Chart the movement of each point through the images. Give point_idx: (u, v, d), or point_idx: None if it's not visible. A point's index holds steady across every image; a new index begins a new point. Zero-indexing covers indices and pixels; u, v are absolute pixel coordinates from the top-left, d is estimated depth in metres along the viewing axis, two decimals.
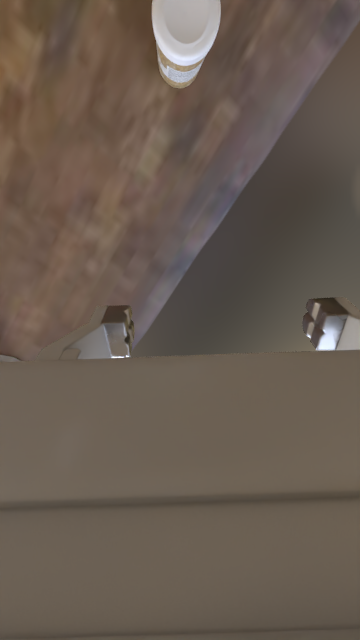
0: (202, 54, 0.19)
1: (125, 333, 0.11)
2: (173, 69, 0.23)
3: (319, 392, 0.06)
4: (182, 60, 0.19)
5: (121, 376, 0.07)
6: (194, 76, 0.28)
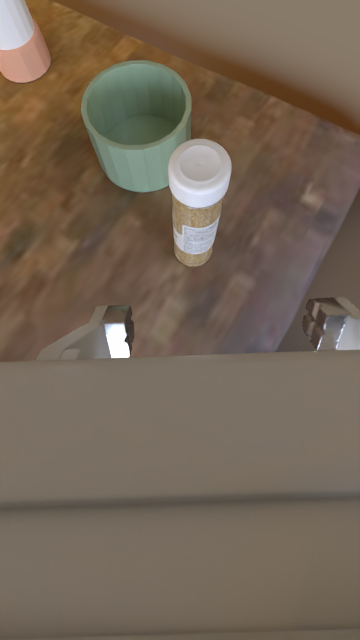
0: (217, 190, 0.19)
1: (125, 333, 0.11)
2: (188, 227, 0.24)
3: (319, 393, 0.06)
4: (197, 194, 0.19)
5: (121, 376, 0.07)
6: (208, 254, 0.31)
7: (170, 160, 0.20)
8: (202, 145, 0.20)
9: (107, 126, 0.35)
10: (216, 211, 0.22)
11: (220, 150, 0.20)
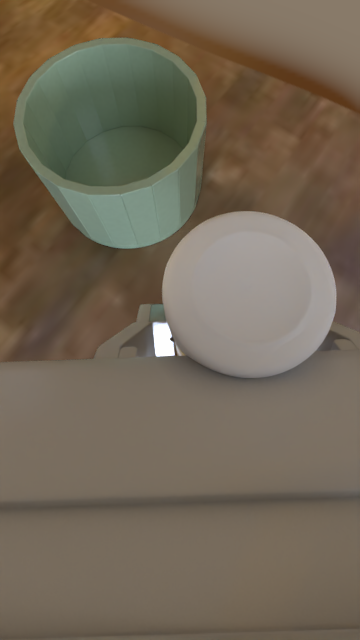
0: (300, 361, 0.07)
1: None
2: None
3: (320, 392, 0.06)
4: (246, 377, 0.07)
5: (121, 376, 0.07)
6: None
7: (168, 274, 0.07)
8: (255, 231, 0.07)
9: (72, 145, 0.22)
10: None
11: (305, 247, 0.07)
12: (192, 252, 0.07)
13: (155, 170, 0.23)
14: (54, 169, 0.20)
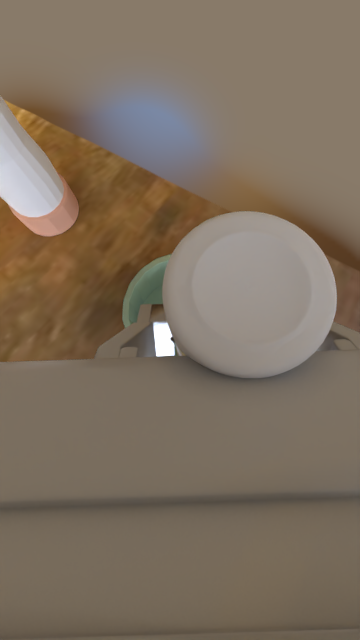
0: (301, 362, 0.07)
1: None
2: None
3: (320, 392, 0.06)
4: (246, 377, 0.07)
5: (121, 376, 0.07)
6: None
7: (168, 274, 0.07)
8: (255, 231, 0.07)
9: (144, 299, 0.32)
10: None
11: (305, 247, 0.07)
12: (192, 252, 0.07)
13: None
14: None
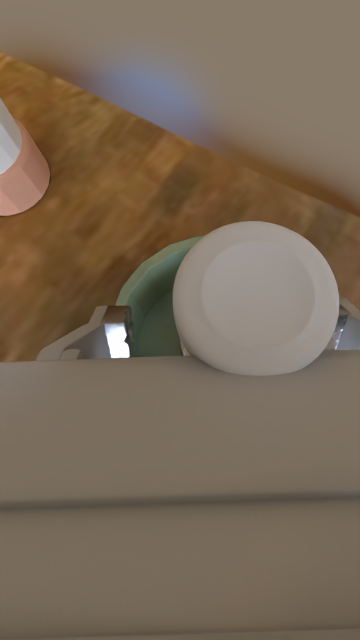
0: None
1: (125, 333, 0.11)
2: None
3: (319, 392, 0.06)
4: None
5: (121, 376, 0.07)
6: None
7: (178, 282, 0.07)
8: (261, 241, 0.08)
9: (146, 311, 0.20)
10: None
11: (309, 256, 0.07)
12: (201, 261, 0.07)
13: None
14: (133, 354, 0.18)
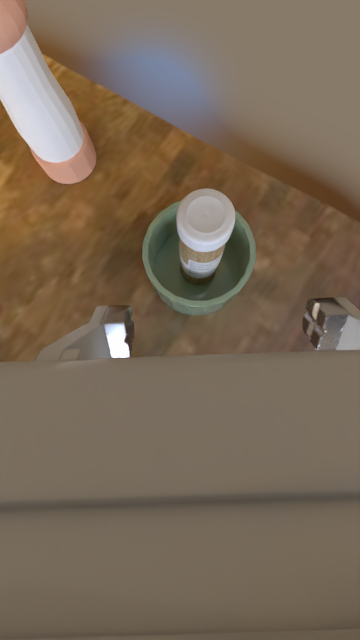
0: (221, 240, 0.21)
1: (125, 333, 0.11)
2: (194, 261, 0.25)
3: (319, 392, 0.06)
4: (203, 244, 0.21)
5: (121, 376, 0.07)
6: (212, 276, 0.32)
7: (178, 210, 0.21)
8: (208, 196, 0.21)
9: (160, 245, 0.34)
10: (220, 250, 0.24)
11: (225, 201, 0.21)
12: (187, 203, 0.21)
13: None
14: (152, 268, 0.32)
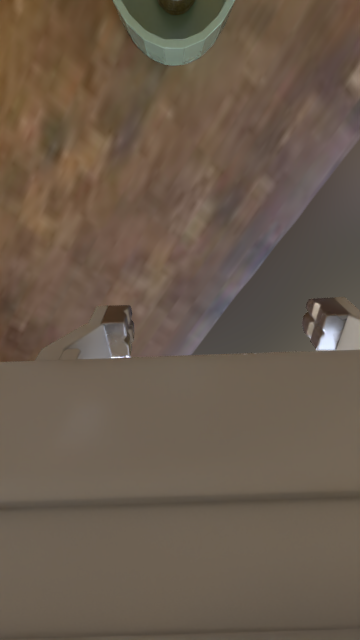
0: None
1: (125, 333, 0.11)
2: None
3: (319, 392, 0.06)
4: None
5: (121, 376, 0.07)
6: None
7: None
8: None
9: None
10: None
11: None
12: None
13: None
14: None
